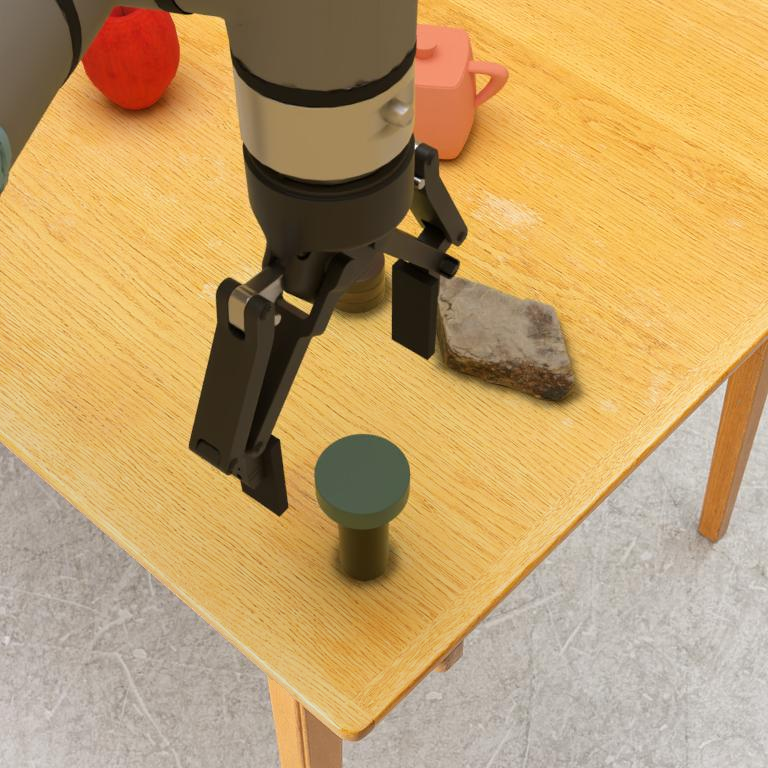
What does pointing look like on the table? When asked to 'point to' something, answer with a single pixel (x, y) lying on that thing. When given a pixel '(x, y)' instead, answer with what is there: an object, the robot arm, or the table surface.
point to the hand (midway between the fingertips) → (342, 419)
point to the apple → (133, 56)
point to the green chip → (362, 481)
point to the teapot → (449, 87)
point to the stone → (503, 339)
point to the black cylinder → (364, 551)
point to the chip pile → (365, 289)
